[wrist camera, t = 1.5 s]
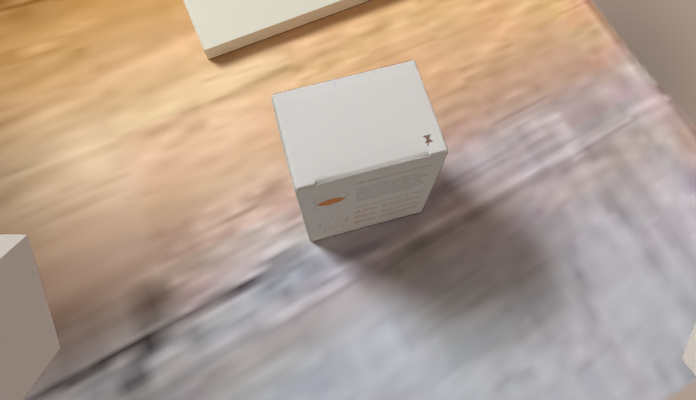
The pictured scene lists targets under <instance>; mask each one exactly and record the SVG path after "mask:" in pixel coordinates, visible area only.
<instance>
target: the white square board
mask: <svg viewBox="0 0 696 400" xmlns="http://www.w3.org/2000/svg"><path fill="white" fill-rule="evenodd" d="M183 1H184V3H185V6H186V8H187V10H188V13H189V15H190V17H191V20H192V22H193V25H194V27H195V29H196V32H197V34H198V37H199V39H200V41H201V44H202V46H203V48H204V51H205V53H206V55H207V58H208V60H209V59H211V58H214V57H217V56H220V55H222V54H225V53H228V52H231V51H233V50H236V49H239V48H241V47H244V46H247V45H250V44H252V43H255V42H258V41H261V40H263V39H266V38H269V37H271V36H274V35H277V34H280V33H282V32H285V31H288V30H291V29H293V28H296V27H299V26H301V25H304V24H307V23H310V22H312V21H315V20H318V19H321V18H323V17H326V16H329V15H332V14H334V13H337V12H340V11H342V10H345V9H348V8H351V7H353V6H356V5H359V4H362V3H364V2H367V1H370V0H183Z"/></svg>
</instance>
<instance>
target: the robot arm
mask: <svg viewBox="0 0 696 400" xmlns="http://www.w3.org/2000/svg"><path fill="white" fill-rule="evenodd" d="M60 348H61V347H60V344H59V341H58V337H57V334H56V330H55V327H54V324H53V320H52V317H51V313H50V310H49V306H48V303H47V300H46V296H45V293H44V289H43V286H42V283H41V279H40V276H39V272H38V269H37V265H36V262H35V259H34V255H33V252H32V248H31V245H30V242H29V238H28V235H21V234H0V400H23V399H24V397H25V396H26V395H27V393H28V392H29V391H30V389H31V388H32V386H33V385H34V384H35V382H36V381H37V380H38V378H39V377H40V376H41V374H42V373H43V371H44V370H45V369H46V367H47V366H48V365H49V363H50V362H51V360H52V359H53V358H54V356H55V355H56V354H57V352H58V351H59V350H60ZM682 359H683V360H684V362H685V363H686V364H687V365H688V367H689V368H690V369H691V370H692V372H693V373H694V374H695V376H696V323H695V325H694V328H693V331H692V333H691V336H690V339H689V341H688V344H687V346H686V349H685V352H684V354H683V357H682Z"/></svg>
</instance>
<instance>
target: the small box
mask: <svg viewBox="0 0 696 400" xmlns="http://www.w3.org/2000/svg"><path fill="white" fill-rule="evenodd" d="M272 103H273V107H274V112H275V116H276V120H277V125H278V129H279V133H280V137H281V141H282V145H283V149H284V153H285V157H286V161H287V164H288V168H289V172H290V175H291V179H292V183H293V187H294V191H295V194H296V197H297V200H298V203H299V207H300V210H301V214H302V217H303V220H304V224H305V227H306V230H307V233H308V237H309V240H310V241H315V240H319V239H322V238H326V237H330V236H333V235H337V234H341V233H344V232H348V231H352V230H356V229H359V228H363V227H366V226H370V225H374V224H378V223H382V222H385V221H389V220H392V219H396V218H400V217H403V216H407V215H411V214H415V213H419V212H421V211H422V210H423V208H424V205H425V203H426V201H427V199H428V196H429V194H430V192H431V189H432V187H433V185H434V183H435V180H436V178H437V176H438V174H439V172H440V169H441V167H442V165H443V163H444V160H445V158H446V156H447V154H448V148H447V146H446V143H445V140H444V138H443V135H442V132H441V130H440V127H439V124H438V122H437V119H436V117H435V114H434V111H433V108H432V106H431V103H430V100H429V98H428V95H427V92H426V90H425V87H424V84H423V81H422V79H421V76H420V74H419V71H418V68H417V65H416V62H415V61H414V60H410V61H406V62H402V63H398V64H394V65H390V66H386V67H382V68H378V69H374V70H370V71H366V72H362V73H358V74H354V75H350V76H346V77H341V78H337V79H333V80H329V81H325V82H321V83H317V84H313V85H309V86H305V87H301V88H297V89H292V90H288V91H284V92H280V93H275V94H272Z"/></svg>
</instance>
